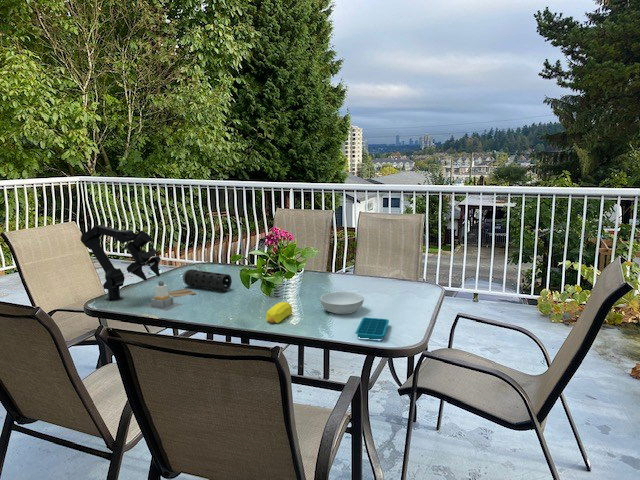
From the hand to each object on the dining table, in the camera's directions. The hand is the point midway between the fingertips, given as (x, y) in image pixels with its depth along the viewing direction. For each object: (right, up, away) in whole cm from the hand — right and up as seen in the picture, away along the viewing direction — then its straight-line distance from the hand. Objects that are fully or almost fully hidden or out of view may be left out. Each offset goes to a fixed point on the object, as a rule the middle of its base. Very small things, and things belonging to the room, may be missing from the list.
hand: (152, 278), depth 233 cm
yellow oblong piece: (+65, -17, -18) cm, 70 cm away
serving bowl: (+94, -15, -8) cm, 96 cm away
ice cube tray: (+106, -20, -36) cm, 114 cm away
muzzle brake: (+20, -9, +30) cm, 37 cm away
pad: (+8, -10, +19) cm, 24 cm away
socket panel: (+5, -14, -2) cm, 15 cm away
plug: (+5, -13, -2) cm, 14 cm away
